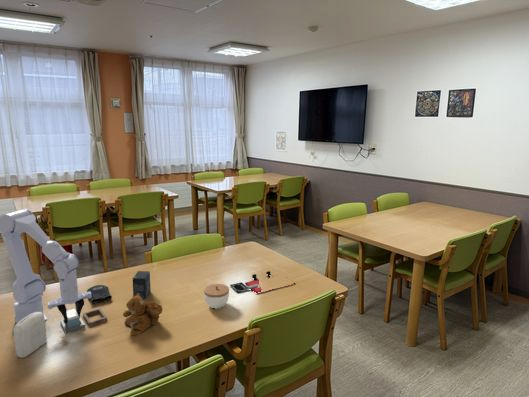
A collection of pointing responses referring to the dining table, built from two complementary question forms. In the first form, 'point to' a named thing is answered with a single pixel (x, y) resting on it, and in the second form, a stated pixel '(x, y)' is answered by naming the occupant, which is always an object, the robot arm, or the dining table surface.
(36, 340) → the photo printer
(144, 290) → the box
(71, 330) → the gray square tray
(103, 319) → the brown square frame
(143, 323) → the stuffed squirrel
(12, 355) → the dining table surface
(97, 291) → the electronic device
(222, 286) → the lidded jar
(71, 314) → the plug
